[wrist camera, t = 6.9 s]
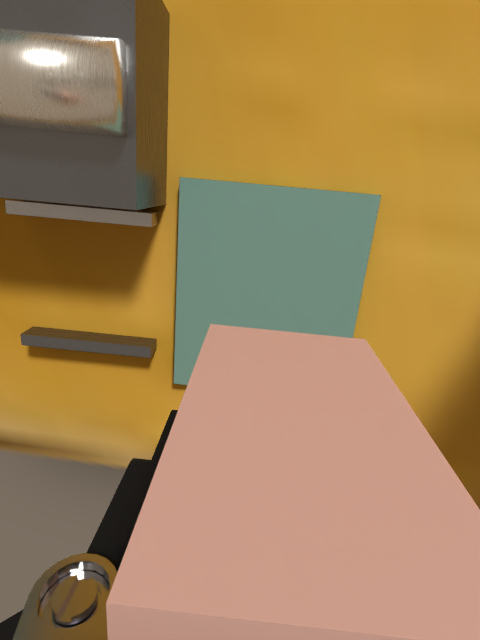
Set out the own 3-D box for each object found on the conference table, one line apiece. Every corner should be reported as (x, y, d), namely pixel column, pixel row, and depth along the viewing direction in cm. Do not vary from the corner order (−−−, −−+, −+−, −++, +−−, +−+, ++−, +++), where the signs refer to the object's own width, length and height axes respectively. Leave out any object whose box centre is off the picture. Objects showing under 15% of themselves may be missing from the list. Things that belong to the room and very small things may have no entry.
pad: (377, 195, 23) (380, 195, 23) (337, 394, 28) (340, 400, 27) (182, 177, 24) (179, 177, 23) (175, 378, 28) (173, 383, 28)
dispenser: (169, 14, 21) (114, -88, 13) (163, 349, 28) (124, 413, 20) (-10, -1, 21) (-169, -109, 13) (27, 336, 28) (-64, 394, 20)
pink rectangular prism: (367, 339, 10) (586, 659, 3) (323, 542, 12) (397, 968, 6) (208, 323, 10) (100, 603, 3) (195, 527, 12) (117, 929, 6)
